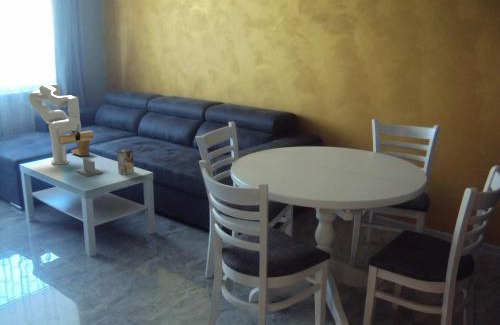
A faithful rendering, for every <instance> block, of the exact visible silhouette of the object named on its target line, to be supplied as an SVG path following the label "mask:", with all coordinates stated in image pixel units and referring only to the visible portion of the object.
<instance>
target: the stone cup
mask: <svg viewBox="0 0 500 325" xmlns="http://www.w3.org/2000/svg"><path fill="white" fill-rule="evenodd" d="M76 143H77V148H74V149H71V151H70V152H71V153H73V154H75V155H77V156H81V157H84V156H88V155H90V154H91V153H90V152H89V147H90V144H91V140H87V141H82V142H76Z"/></svg>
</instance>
